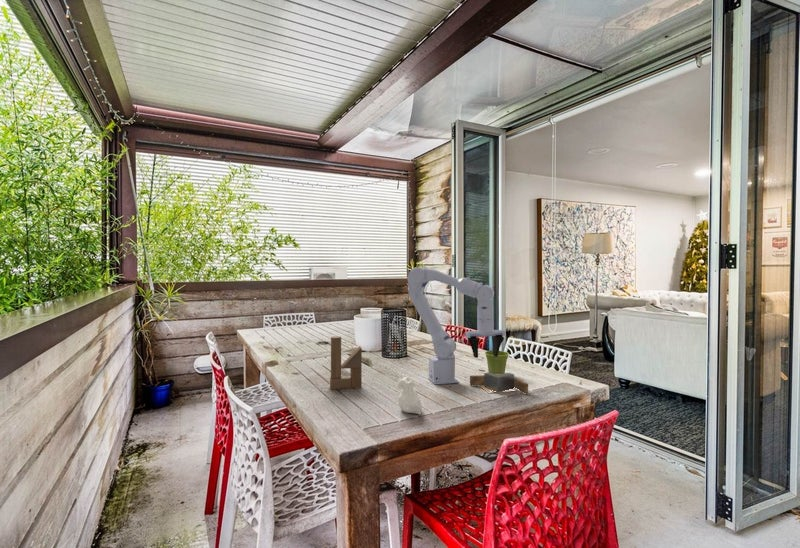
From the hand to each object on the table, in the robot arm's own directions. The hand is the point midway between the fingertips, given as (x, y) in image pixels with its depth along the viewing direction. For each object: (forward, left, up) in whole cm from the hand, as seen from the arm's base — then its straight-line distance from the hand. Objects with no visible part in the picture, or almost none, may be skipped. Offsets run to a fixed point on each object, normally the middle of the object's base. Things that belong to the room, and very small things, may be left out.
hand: (485, 356), depth 147 cm
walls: (+2, -5, -10) cm, 12 cm away
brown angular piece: (-49, +8, -11) cm, 51 cm away
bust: (-33, -19, -11) cm, 40 cm away
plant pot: (+11, +12, -11) cm, 19 cm away
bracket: (+3, -5, -10) cm, 12 cm away
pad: (+2, -4, -10) cm, 12 cm away
